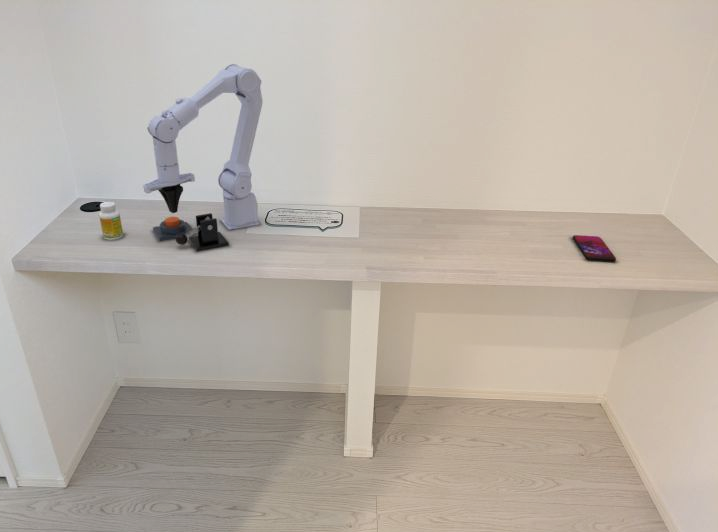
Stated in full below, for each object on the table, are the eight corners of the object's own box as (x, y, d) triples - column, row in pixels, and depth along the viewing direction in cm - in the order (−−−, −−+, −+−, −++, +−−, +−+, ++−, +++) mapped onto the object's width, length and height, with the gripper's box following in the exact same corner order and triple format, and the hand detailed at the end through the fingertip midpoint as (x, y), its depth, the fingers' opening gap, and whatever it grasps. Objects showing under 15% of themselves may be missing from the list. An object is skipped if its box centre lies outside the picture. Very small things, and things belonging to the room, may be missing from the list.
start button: (177, 221, 167) (177, 215, 166) (181, 226, 164) (180, 220, 163) (164, 223, 165) (163, 217, 164) (167, 228, 162) (166, 223, 161)
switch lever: (180, 248, 155) (174, 239, 153) (177, 244, 158) (171, 235, 156) (215, 227, 157) (210, 218, 155) (212, 223, 160) (206, 214, 158)
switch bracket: (196, 252, 155) (194, 225, 151) (188, 241, 162) (185, 215, 158) (228, 246, 159) (226, 220, 155) (219, 235, 165) (217, 209, 161)
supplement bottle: (117, 241, 161) (111, 208, 156) (99, 239, 162) (93, 206, 157) (126, 233, 165) (121, 201, 160) (109, 231, 166) (103, 199, 161)
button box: (187, 225, 171) (186, 215, 169) (194, 235, 165) (193, 225, 163) (153, 231, 167) (151, 221, 165) (159, 241, 161) (158, 231, 159)
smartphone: (600, 236, 165) (617, 259, 152) (599, 239, 166) (616, 262, 153) (572, 234, 166) (587, 257, 153) (571, 237, 166) (586, 260, 153)
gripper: (182, 154, 159) (187, 201, 165) (134, 165, 150) (142, 214, 157) (196, 160, 154) (201, 208, 161) (148, 172, 145) (155, 221, 152)
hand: (173, 211), depth 159 cm, fingers closed
